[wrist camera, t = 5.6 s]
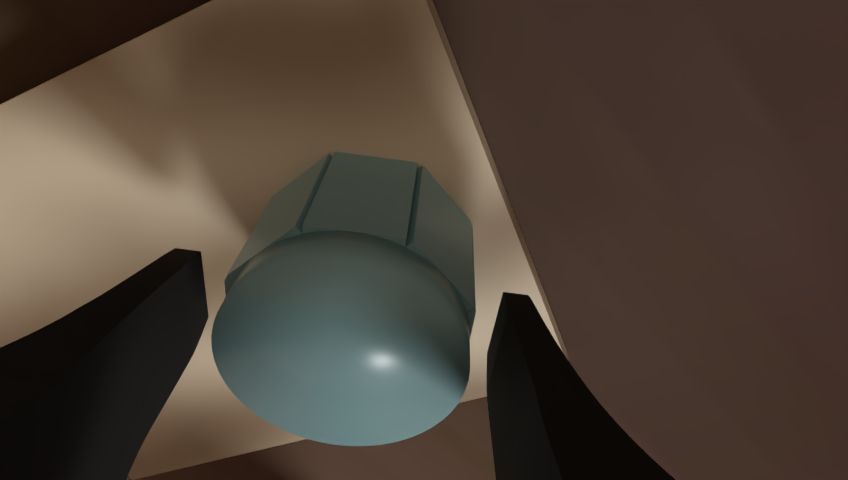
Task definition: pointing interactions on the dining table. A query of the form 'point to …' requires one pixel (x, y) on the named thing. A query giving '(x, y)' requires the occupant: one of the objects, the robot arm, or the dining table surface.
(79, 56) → the dining table surface
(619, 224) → the dining table surface
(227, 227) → the stud plate
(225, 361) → the cap
